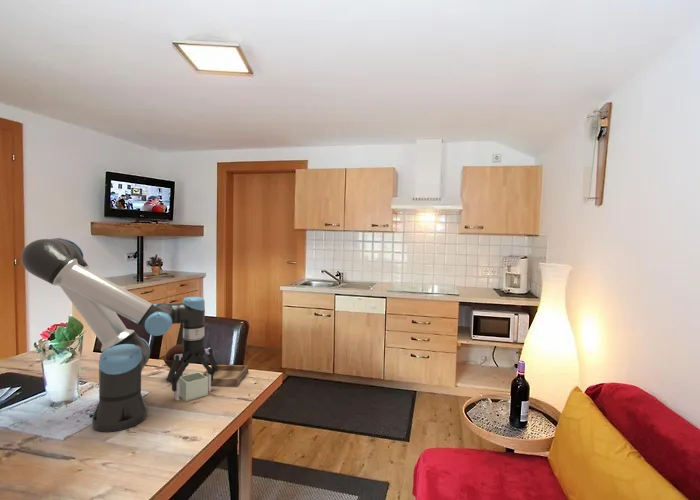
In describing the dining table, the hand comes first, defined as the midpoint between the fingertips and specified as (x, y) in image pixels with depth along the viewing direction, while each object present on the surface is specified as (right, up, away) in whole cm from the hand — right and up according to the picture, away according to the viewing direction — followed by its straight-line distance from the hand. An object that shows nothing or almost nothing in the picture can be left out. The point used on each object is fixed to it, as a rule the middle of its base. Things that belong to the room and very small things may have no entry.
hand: (193, 394), depth 140 cm
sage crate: (0, 0, 0) cm, 0 cm away
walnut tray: (+6, 0, +17) cm, 18 cm away
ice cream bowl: (-13, +1, +15) cm, 20 cm away
